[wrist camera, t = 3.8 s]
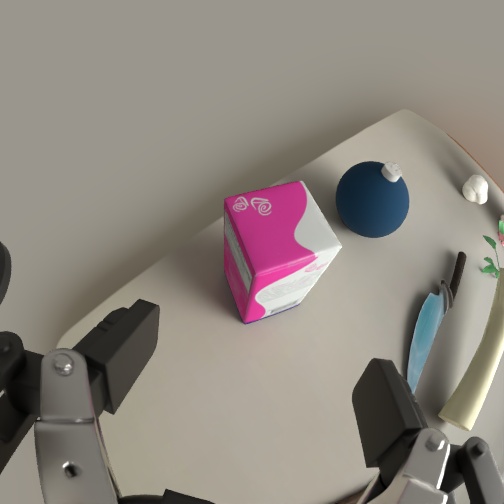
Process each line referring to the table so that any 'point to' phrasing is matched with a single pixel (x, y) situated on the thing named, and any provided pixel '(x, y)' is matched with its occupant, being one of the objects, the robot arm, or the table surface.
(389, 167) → the christmas ornament
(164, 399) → the table surface
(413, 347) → the knife
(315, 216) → the supplement box
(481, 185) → the microfossil shell
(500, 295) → the flower vase
